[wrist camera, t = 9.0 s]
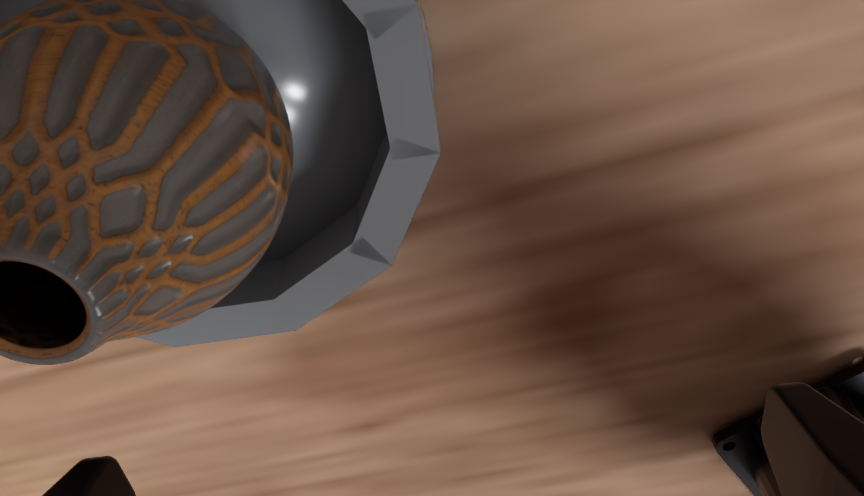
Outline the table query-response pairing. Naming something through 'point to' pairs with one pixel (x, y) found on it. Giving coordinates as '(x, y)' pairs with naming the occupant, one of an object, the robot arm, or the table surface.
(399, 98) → the ring dish
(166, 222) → the vase
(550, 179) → the table surface
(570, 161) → the table surface
